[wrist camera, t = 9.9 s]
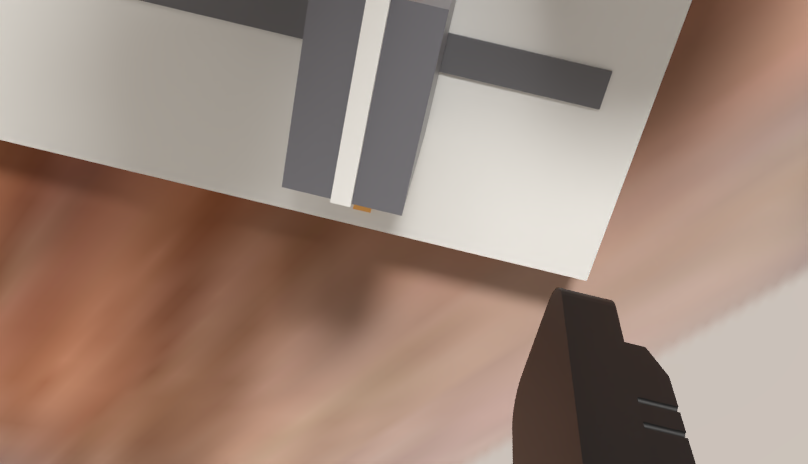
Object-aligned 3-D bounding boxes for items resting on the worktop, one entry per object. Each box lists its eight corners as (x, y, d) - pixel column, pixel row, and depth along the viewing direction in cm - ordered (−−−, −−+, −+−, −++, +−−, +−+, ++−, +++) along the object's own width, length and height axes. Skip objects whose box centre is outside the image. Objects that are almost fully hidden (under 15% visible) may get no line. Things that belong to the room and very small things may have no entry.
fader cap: (359, -55, 21) (309, -22, 16) (463, -31, 21) (448, 11, 16) (331, 111, 24) (279, 190, 18) (425, 133, 24) (400, 219, 18)
